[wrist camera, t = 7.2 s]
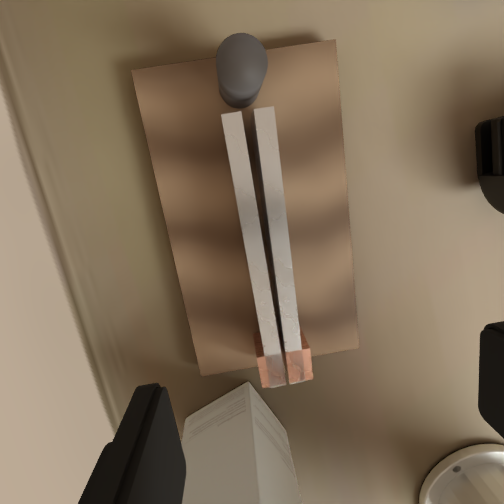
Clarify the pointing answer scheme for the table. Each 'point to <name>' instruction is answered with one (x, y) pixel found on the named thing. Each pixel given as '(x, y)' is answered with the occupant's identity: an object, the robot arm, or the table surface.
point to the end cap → (491, 160)
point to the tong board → (223, 195)
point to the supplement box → (238, 453)
